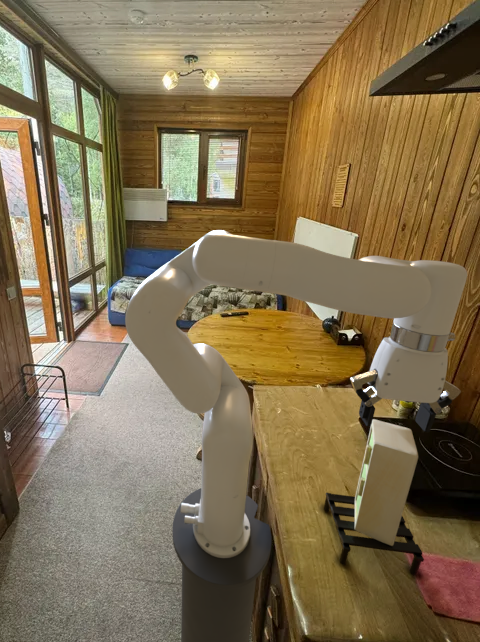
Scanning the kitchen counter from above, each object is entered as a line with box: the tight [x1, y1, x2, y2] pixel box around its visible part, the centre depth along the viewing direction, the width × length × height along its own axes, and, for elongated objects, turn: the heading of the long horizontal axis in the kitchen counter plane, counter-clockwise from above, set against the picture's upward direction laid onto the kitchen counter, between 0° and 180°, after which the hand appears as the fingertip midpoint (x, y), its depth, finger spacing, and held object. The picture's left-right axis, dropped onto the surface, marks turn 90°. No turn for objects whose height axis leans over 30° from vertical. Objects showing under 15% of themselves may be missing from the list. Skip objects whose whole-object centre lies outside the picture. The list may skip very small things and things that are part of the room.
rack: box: [323, 492, 425, 576], centre depth 63 cm, size 14×12×5 cm
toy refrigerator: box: [354, 418, 419, 546], centre depth 59 cm, size 8×7×21 cm
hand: (393, 423), depth 55 cm, fingers open, 9 cm apart
